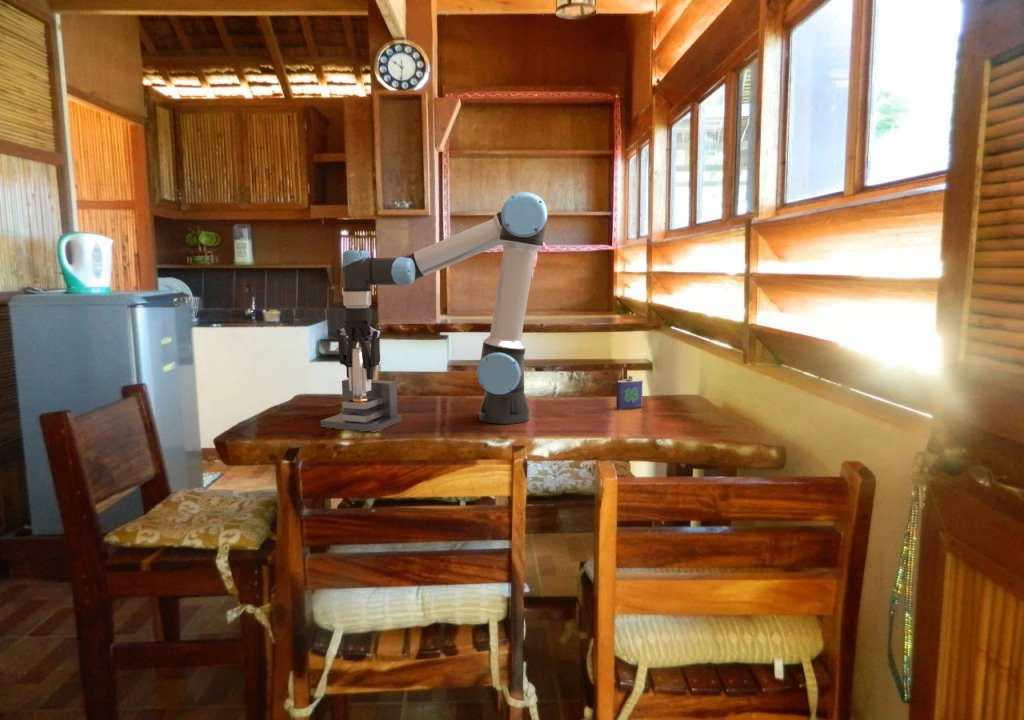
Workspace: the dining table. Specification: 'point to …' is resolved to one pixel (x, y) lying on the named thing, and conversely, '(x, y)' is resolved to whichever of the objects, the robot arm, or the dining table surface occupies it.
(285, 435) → the dining table surface
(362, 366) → the tube
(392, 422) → the grey slotted rack
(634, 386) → the flask
